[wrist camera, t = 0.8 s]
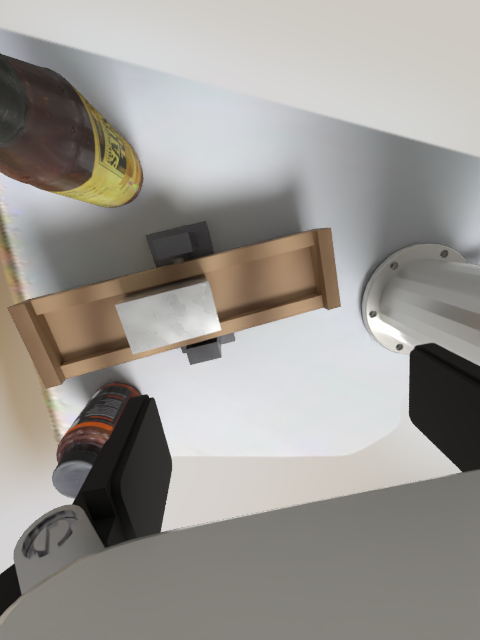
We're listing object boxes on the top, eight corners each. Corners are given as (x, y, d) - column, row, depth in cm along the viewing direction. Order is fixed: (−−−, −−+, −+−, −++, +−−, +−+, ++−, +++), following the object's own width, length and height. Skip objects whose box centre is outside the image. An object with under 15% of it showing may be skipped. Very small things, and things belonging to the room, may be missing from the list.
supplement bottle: (84, 389, 34) (23, 463, 23) (133, 374, 34) (94, 440, 23) (106, 431, 36) (59, 517, 25) (153, 416, 36) (126, 496, 25)
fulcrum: (307, 197, 30) (327, 189, 24) (324, 317, 34) (345, 334, 28) (50, 258, 30) (12, 264, 24) (97, 372, 34) (74, 399, 28)
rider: (205, 274, 26) (208, 281, 22) (216, 317, 27) (221, 330, 23) (125, 295, 25) (114, 305, 21) (140, 337, 26) (133, 354, 23)
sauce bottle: (159, 184, 29) (46, 91, 10) (108, 221, 29) (-93, 205, 10) (113, 117, 27) (-138, -159, 8) (60, 159, 27) (-294, -3, 8)
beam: (304, 225, 30) (330, 222, 25) (315, 298, 32) (341, 310, 27) (39, 290, 27) (4, 302, 22) (72, 365, 30) (48, 392, 24)
